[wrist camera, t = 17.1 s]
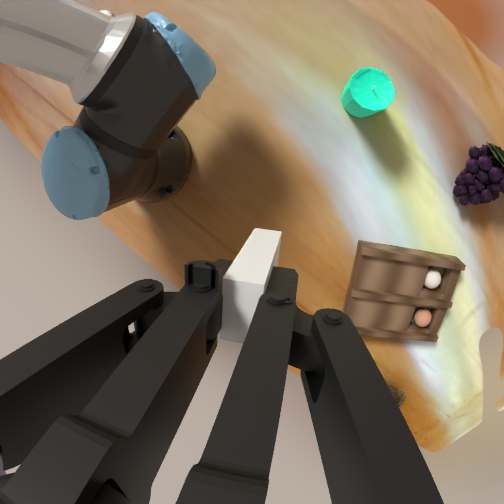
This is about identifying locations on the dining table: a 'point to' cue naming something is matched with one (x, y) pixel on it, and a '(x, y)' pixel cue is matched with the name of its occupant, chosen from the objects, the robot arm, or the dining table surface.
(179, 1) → the dining table surface
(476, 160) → the fruit
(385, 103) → the candle
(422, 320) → the ball terracotta
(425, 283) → the ball cream
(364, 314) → the board
